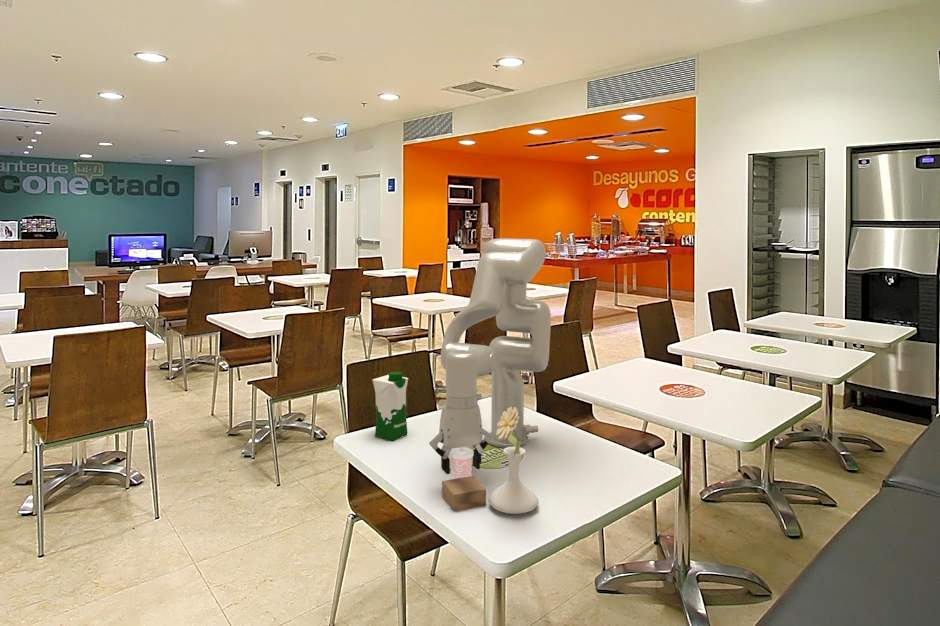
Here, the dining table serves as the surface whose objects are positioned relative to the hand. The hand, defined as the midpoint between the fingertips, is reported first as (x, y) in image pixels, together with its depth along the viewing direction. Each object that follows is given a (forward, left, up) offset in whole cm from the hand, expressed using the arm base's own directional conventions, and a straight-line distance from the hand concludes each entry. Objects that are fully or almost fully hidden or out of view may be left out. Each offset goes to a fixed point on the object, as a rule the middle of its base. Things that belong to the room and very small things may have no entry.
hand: (461, 469), depth 157 cm
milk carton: (+7, -41, -5) cm, 42 cm away
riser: (+2, +8, -4) cm, 9 cm away
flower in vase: (-7, +16, -5) cm, 18 cm away
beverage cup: (0, 0, -5) cm, 5 cm away
